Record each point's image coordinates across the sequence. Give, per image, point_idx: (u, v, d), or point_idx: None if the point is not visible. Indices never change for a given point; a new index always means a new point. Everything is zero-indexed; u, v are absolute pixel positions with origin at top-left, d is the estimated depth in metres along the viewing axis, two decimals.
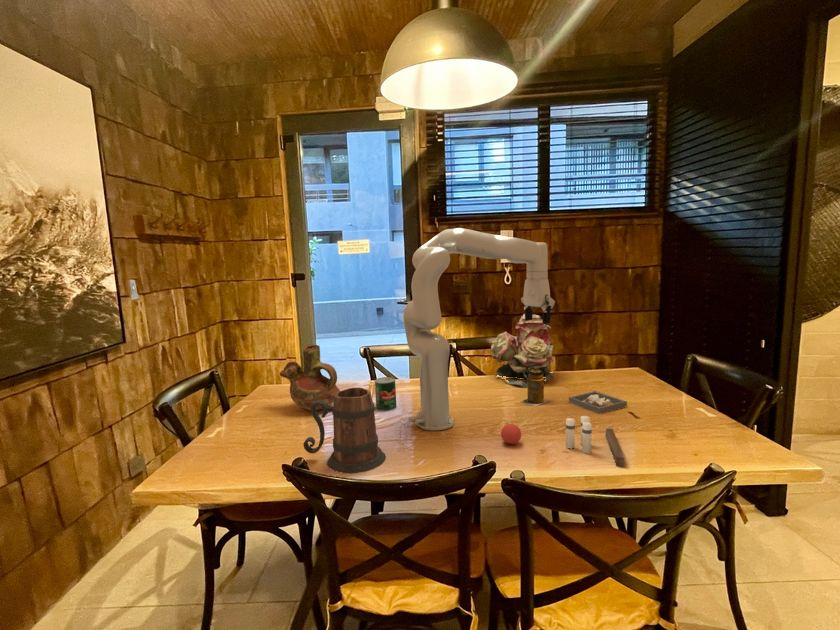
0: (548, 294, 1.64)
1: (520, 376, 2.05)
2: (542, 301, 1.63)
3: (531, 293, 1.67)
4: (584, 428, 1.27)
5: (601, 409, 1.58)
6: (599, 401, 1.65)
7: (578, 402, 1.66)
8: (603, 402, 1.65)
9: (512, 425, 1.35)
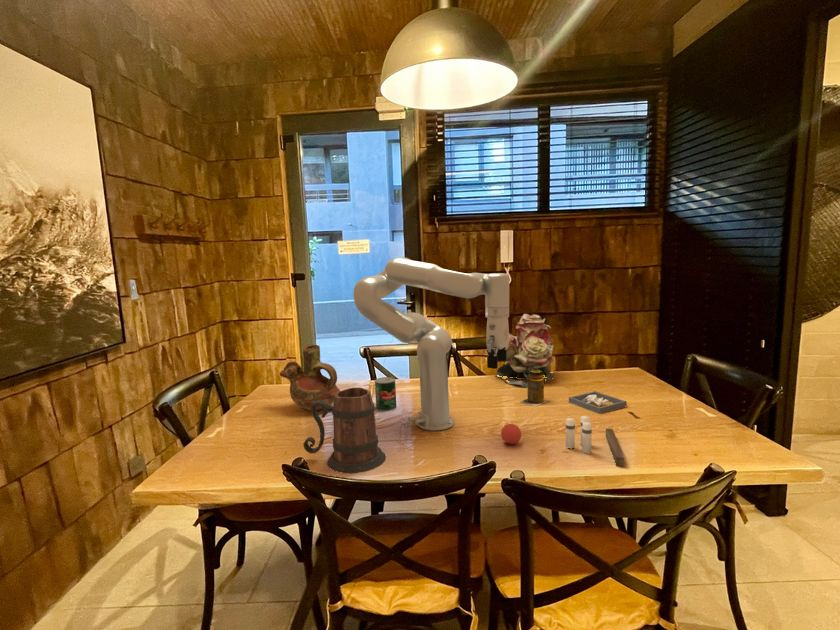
0: None
1: (520, 376, 2.05)
2: None
3: (505, 332, 1.43)
4: (584, 428, 1.27)
5: (601, 409, 1.58)
6: (597, 401, 1.65)
7: (578, 402, 1.66)
8: (601, 402, 1.65)
9: (512, 425, 1.35)
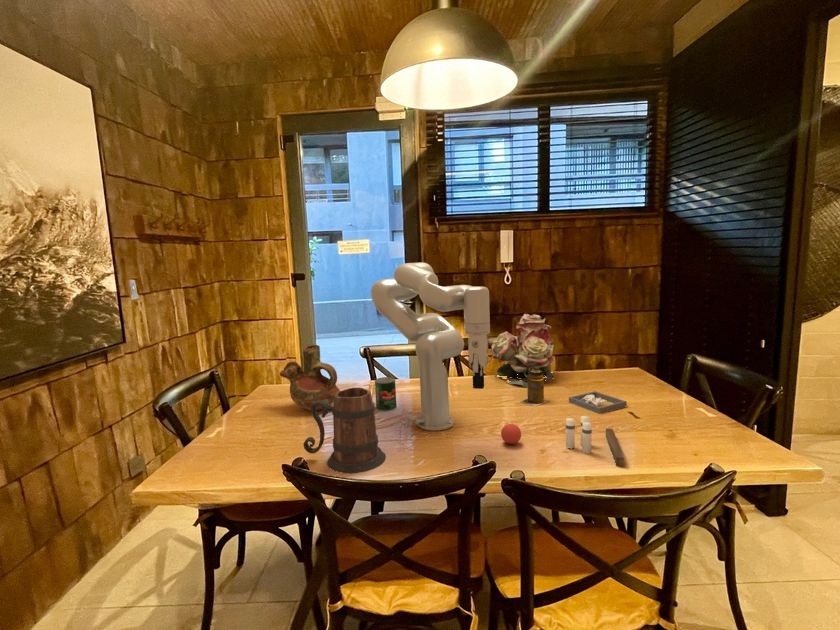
0: None
1: (521, 376, 2.05)
2: None
3: (486, 349, 1.34)
4: (584, 428, 1.27)
5: (601, 409, 1.58)
6: (595, 401, 1.65)
7: (578, 402, 1.66)
8: (599, 402, 1.65)
9: (512, 425, 1.35)
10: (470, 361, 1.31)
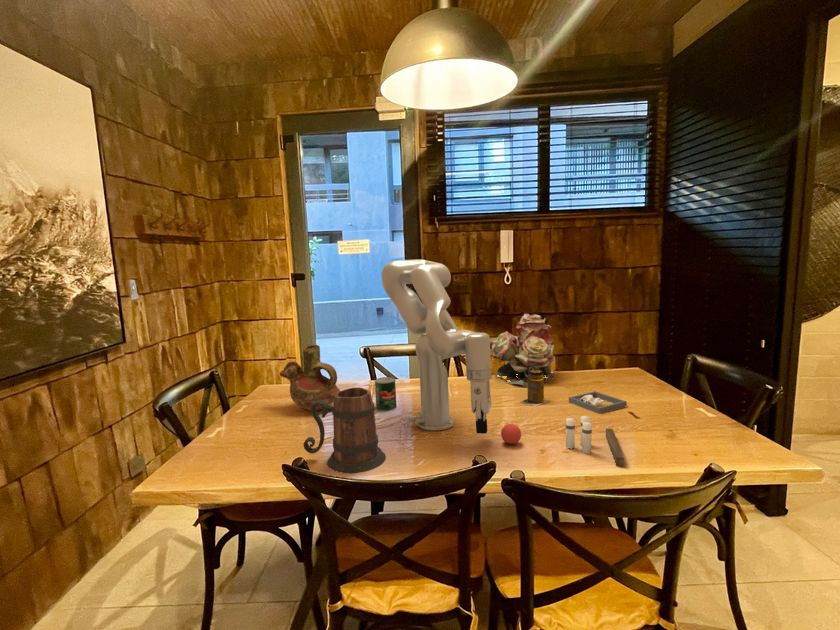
0: None
1: (521, 376, 2.05)
2: None
3: (489, 394, 1.36)
4: (584, 428, 1.27)
5: (601, 409, 1.58)
6: (593, 401, 1.65)
7: (578, 402, 1.66)
8: (597, 402, 1.65)
9: (512, 425, 1.35)
10: (473, 407, 1.32)
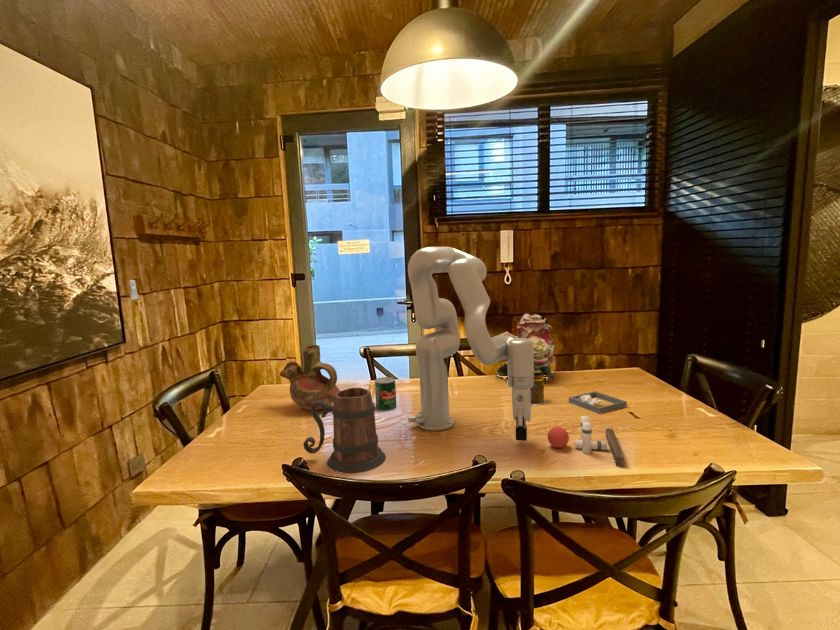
0: None
1: None
2: None
3: None
4: (584, 428, 1.27)
5: (601, 409, 1.58)
6: (591, 401, 1.65)
7: (578, 402, 1.66)
8: (595, 402, 1.65)
9: (548, 439, 1.33)
10: (514, 415, 1.30)
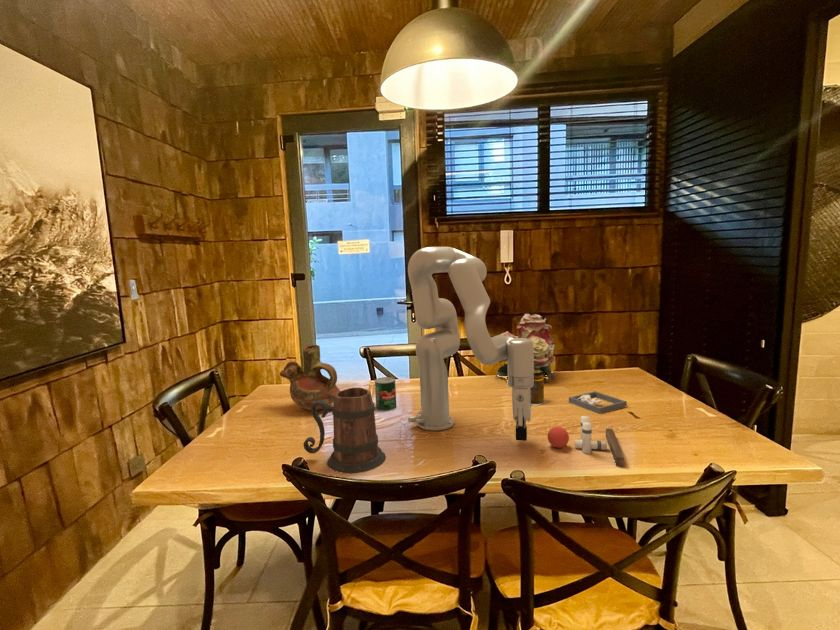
0: None
1: None
2: None
3: None
4: (584, 428, 1.27)
5: (601, 409, 1.58)
6: (590, 401, 1.65)
7: (578, 402, 1.66)
8: (594, 402, 1.65)
9: (548, 439, 1.33)
10: (514, 415, 1.30)
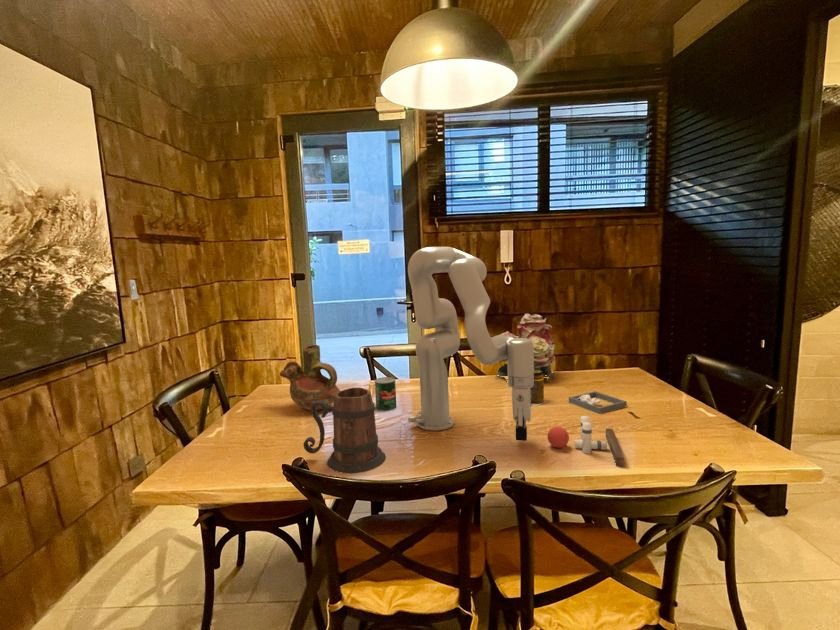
0: None
1: None
2: None
3: None
4: (584, 428, 1.27)
5: (601, 409, 1.58)
6: (590, 401, 1.65)
7: (578, 402, 1.66)
8: (594, 402, 1.65)
9: (548, 439, 1.33)
10: (514, 415, 1.30)
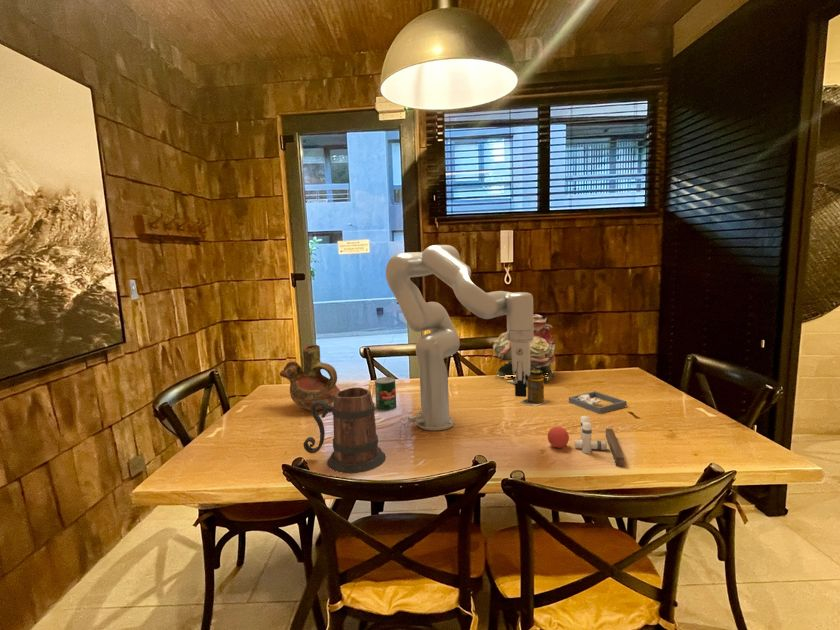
0: None
1: None
2: None
3: None
4: (584, 428, 1.27)
5: (601, 409, 1.58)
6: (589, 401, 1.65)
7: (578, 402, 1.66)
8: (593, 402, 1.65)
9: (548, 439, 1.33)
10: (514, 369, 1.28)
